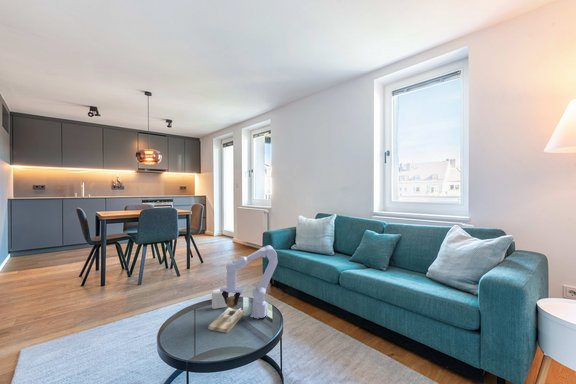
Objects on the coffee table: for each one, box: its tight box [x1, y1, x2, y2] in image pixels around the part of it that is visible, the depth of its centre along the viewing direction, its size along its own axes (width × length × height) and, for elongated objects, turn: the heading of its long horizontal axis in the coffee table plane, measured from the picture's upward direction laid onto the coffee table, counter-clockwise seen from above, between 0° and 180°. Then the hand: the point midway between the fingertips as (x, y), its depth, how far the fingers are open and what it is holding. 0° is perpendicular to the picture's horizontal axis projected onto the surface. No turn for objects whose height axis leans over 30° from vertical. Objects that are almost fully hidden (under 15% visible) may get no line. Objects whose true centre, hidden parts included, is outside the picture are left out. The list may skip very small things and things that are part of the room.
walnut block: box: [226, 295, 238, 309], centre depth 163 cm, size 5×5×5 cm
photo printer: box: [211, 288, 228, 310], centre depth 178 cm, size 10×4×12 cm, turn 109°
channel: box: [218, 307, 242, 321], centre depth 164 cm, size 8×13×2 cm, turn 163°
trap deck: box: [208, 308, 246, 333], centre depth 160 cm, size 12×22×2 cm, turn 163°
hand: (231, 303), depth 162 cm, fingers closed on walnut block, 6 cm apart
